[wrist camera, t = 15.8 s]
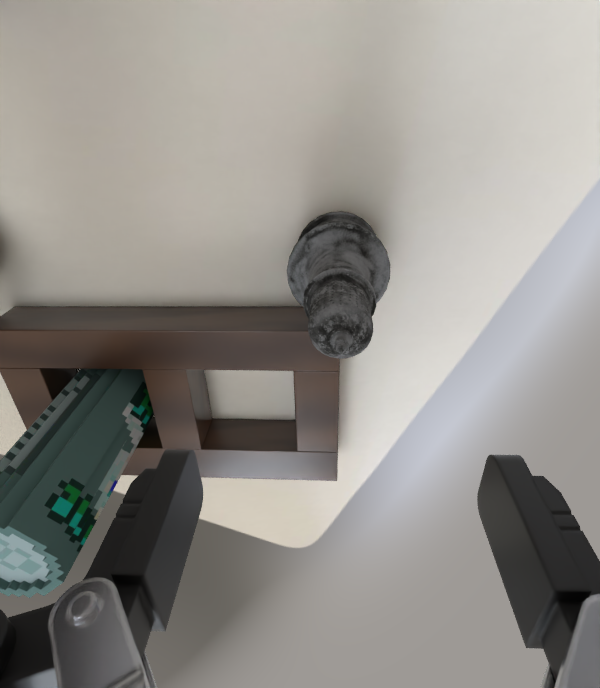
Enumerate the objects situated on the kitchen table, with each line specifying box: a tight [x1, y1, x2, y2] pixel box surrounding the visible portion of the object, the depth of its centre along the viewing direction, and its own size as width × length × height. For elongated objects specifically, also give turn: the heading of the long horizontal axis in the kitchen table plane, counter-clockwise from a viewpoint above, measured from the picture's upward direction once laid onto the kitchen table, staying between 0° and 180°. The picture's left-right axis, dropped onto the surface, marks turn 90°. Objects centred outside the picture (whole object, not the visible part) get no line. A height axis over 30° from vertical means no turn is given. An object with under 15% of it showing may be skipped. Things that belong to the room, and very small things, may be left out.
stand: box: [0, 307, 340, 481], centre depth 32 cm, size 13×23×4 cm, turn 92°
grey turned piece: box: [287, 212, 390, 358], centre depth 23 cm, size 6×6×12 cm
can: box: [0, 369, 154, 598], centre depth 28 cm, size 6×6×15 cm
